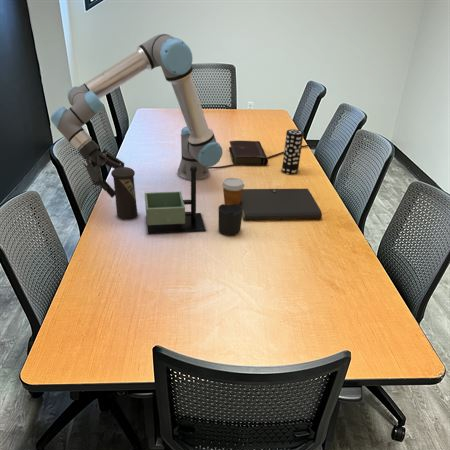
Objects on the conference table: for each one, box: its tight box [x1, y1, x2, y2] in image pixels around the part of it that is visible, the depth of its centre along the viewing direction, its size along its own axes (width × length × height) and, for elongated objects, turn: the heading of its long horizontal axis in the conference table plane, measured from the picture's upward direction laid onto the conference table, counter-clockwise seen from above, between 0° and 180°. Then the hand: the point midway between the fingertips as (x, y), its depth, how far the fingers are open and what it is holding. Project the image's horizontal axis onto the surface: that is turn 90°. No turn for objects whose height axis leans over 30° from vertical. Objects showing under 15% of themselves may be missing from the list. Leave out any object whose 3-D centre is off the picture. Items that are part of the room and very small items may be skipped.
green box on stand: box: [144, 165, 207, 235], centre depth 178 cm, size 23×15×24 cm, turn 101°
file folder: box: [240, 188, 323, 221], centre depth 200 cm, size 33×4×24 cm
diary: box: [228, 140, 269, 167], centre depth 247 cm, size 19×25×5 cm
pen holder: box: [218, 203, 243, 237], centre depth 180 cm, size 9×9×10 cm
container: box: [110, 166, 138, 221], centre depth 183 cm, size 9×9×20 cm
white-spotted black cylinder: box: [281, 128, 305, 176], centre depth 229 cm, size 8×8×20 cm
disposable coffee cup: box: [221, 177, 245, 205], centre depth 196 cm, size 10×10×12 cm
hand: (123, 189), depth 182 cm, fingers open, 13 cm apart
